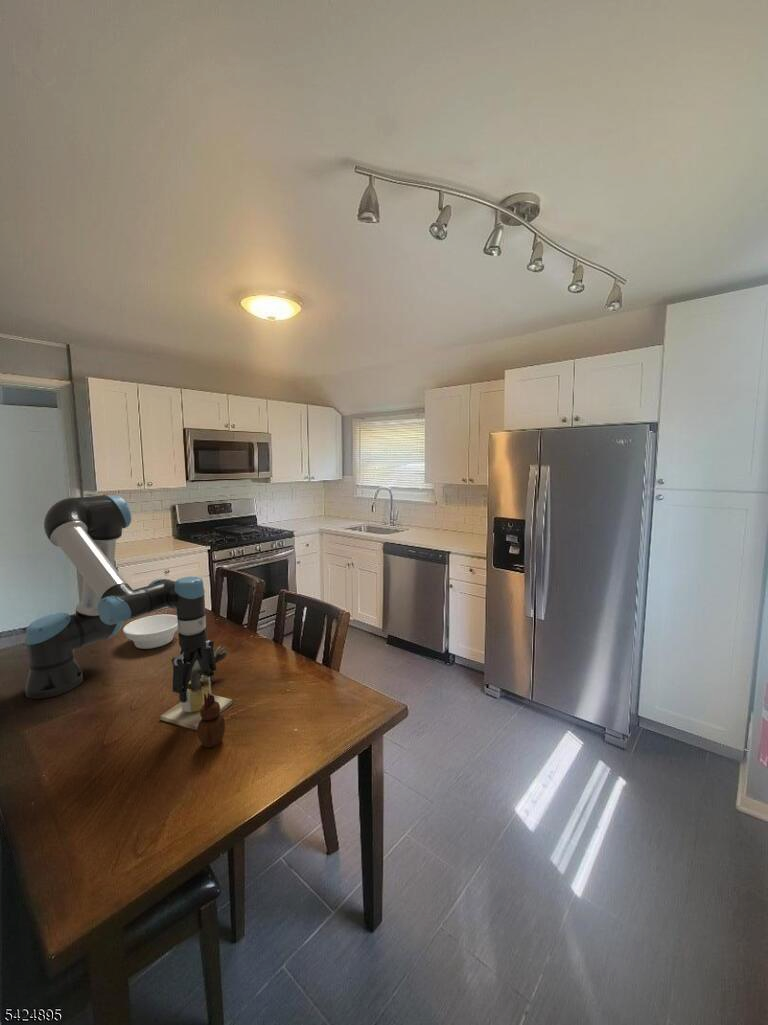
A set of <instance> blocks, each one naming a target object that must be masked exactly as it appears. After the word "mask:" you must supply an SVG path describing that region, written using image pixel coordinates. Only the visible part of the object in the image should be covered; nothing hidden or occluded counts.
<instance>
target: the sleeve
mask: <svg viewBox="0 0 768 1025" xmlns="http://www.w3.org/2000/svg"><path fill="white" fill-rule="evenodd" d="M200 680H201V688H200V689H195V690H191V681H189V685H188V690H190V699H191V712H194V711H198V710H201V708H202V706H203V705H204V694H206V697H208V693H209V694H210V687H209V680H206V679H202V678H201V679H200Z"/></svg>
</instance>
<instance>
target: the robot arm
mask: <svg viewBox="0 0 768 1025" xmlns="http://www.w3.org/2000/svg"><path fill="white" fill-rule="evenodd" d="M131 523H132V512H131V510H130V507H129V505H128V503H127V502H126V500H125V499H124V498H123V497H121V496H120V495H117V494H116V495H115V494H102V495H91V496H77V497H67V498H63V499H61V500H59V501H57V502H55V503H54V504H53V505H52V506H51V507H50V508H49V509H48V511H47V512H46V514H45V517H44V521H43V529H44V532H45V533H44V534H45V535H46V537H47V539H48V540H49V542H50V543H51V544H52V545H54V546H55V547H58V548H60V549H61V550H62V552H63V553H64V554H65V555H66V557H67V558H68V559H69V561H70V562H71V563H72V564H73V566H74V568H76V570H77V571H78V572H79V573H80V575H81V577H82V590H81V592H82V593H81V601H79V603H77V605H76V606H75V613H73V614H69V613H67V612H57V613H55V614H53V613H52V614H48V615H46V616H42V617H40V618H37V619H35V620H34V621H33V622H31V623H30V624H29V625H28V626H27V627H26V629H25V643H26V647H27V649H26V650H27V656H28V657H27V658H28V665H29V673H28V675H27V680H26V684H25V685H24V694H25V696H26V697H27V698H29V699H32V700H41V699H49V698H52V697H57V696H60V695H62V694H66V693H68V692H70V691H72V690H74V689H76V688H77V687H78V686H79V685H81V684H82V682H83V681H84V675H83V672H82V669H81V668H80V666H79V664H78V662H77V661H76V659H75V650H77V649H80V648H83V647H85V646H88V645H91V644H94V643H97V642H99V641H104V640H106V639H109V638H110V637H113V636H114V635H116V634H118V633H119V631H120V630H121V628H122V625H123V623H124V622H127V621H129V620H132V619H134V618H137V617H140V616H142V615H143V616H144V615H146V614H150V613H152V612H156V611H159V610H162V609H165V608H171V609H176V610H175V611H176V616H177V623H178V630H177V632H178V633H177V634H178V635H177V636H178V645H179V647H180V653H179V656H177V657H173V658H171V663H172V669H173V670H172V693H177V694H179V695H178V696H179V701H180V702H182V711H186V712H191V699H190V690H188V685H189V680H190V675H191V671H192V667H193V666H194V663H195V662H196V661H198V663H199V665H200V667H201V669H202V672H203V674H205V675H203V676H201V678H202V679H206V680H209V687H210V694H212V684H213V683H212V677H214V675H215V672H216V670H217V663H216V662H215V656H214V652H215V651H214V643H215V642H214V641H213V640H209V639H208V635H207V634H208V632H207V629H206V627H207V618H206V603H205V602H206V600H205V593H206V591H205V588H204V580H203V579H202V578H201V577H198V576H184V577H180V578H178V579H176V581H175V580H171V579H167V578H156V579H154V580H153V581H151V582H150V583H149V584H148V585H146V586H143V587H139V588H135V589H133V588H132V587H131V586H130V585H129V583H128V582H127V580H126V579H125V578H124V577H123V576H122V575H121V574H120V572H119V571H118V570H117V568H116V567H115V559H116V545H117V540H119V539H120V538H121V537H122V535H123V534H122V533H123V529H126V528H128V527H130V525H131ZM204 651H205V652H204ZM211 665H212V666H211ZM180 702H179V703H180Z"/></svg>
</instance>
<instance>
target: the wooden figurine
mask: <svg viewBox="0 0 768 1025" xmlns="http://www.w3.org/2000/svg"><path fill="white" fill-rule="evenodd" d="M214 695H215V694H212V693H211V694H209V693H208V697H206V694H204V705H203V706H202V708H201V711H200V715H201V717H202V719H201V720H200V722H199V724H198V727H197V730H196V733H197V738H198V740H199V742H200V744H201V745H202V746H203V747H204V748H206V749H207V748H213V747H215V746H217V745H219V744H220V743H221V742H222V740H223V738H224V735H225V731H226V720H225V718H224V715H223V714H222V712H221V713H220V705H219V703H218V702H216V701H215V699H214Z"/></svg>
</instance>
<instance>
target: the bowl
mask: <svg viewBox="0 0 768 1025" xmlns="http://www.w3.org/2000/svg"><path fill="white" fill-rule="evenodd" d="M122 632H123V634H124V635H125V636H126V637H127V639H129V640H130V641H132V642H133V644H134V646H135V647H136V648H137V649H142V650H143V649H144V650H145V649H147V650H148V649H154V648H155V649H156V648H160V647H163V646H165V645H167V644H169V643H170V642H172V641H173V639H174V635H175V633H176V632H178V623H177V614H176V615H175V614H154V615H150V616H144V617H141V618H138V619H135V620H132V621H131V622H129V623H127V624H125V625H124V627H123V629H122Z"/></svg>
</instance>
